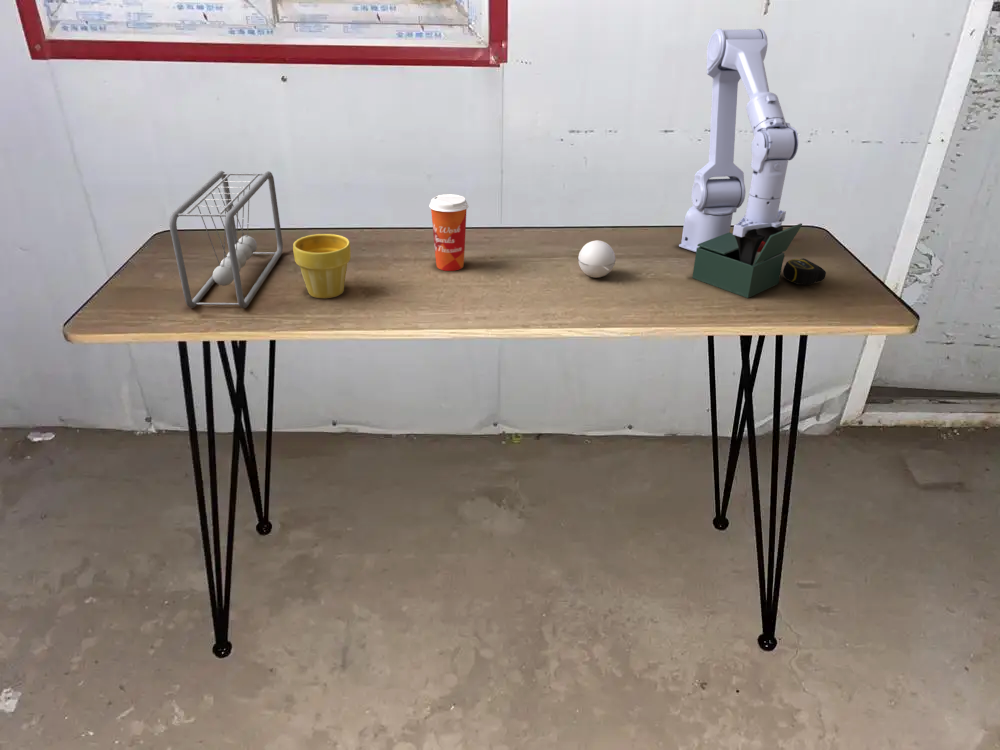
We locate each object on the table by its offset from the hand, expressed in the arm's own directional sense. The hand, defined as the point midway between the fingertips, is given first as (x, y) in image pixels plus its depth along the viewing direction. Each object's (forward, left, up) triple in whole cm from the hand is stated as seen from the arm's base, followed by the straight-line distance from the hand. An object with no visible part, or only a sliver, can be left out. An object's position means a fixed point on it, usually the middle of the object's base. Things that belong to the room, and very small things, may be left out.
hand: (752, 263), depth 150 cm
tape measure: (+5, +11, -5) cm, 13 cm away
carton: (-3, 0, -4) cm, 5 cm away
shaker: (0, 0, -1) cm, 1 cm away
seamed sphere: (-22, -20, -5) cm, 30 cm away
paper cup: (-46, -38, -5) cm, 60 cm away
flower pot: (-51, -64, -5) cm, 82 cm away
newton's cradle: (-67, -74, -5) cm, 100 cm away
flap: (+4, 0, +5) cm, 7 cm away
